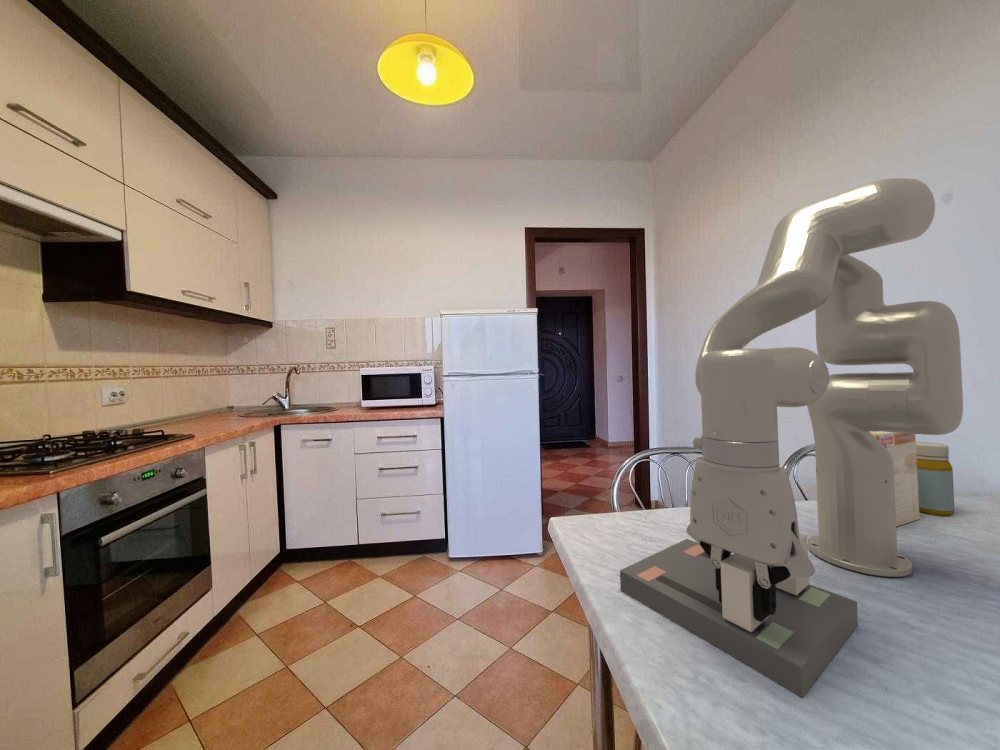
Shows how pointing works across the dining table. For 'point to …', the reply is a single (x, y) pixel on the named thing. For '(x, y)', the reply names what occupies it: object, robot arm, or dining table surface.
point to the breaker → (796, 583)
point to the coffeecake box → (903, 473)
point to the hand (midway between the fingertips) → (745, 606)
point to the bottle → (934, 479)
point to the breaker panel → (768, 648)
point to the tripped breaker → (738, 591)
